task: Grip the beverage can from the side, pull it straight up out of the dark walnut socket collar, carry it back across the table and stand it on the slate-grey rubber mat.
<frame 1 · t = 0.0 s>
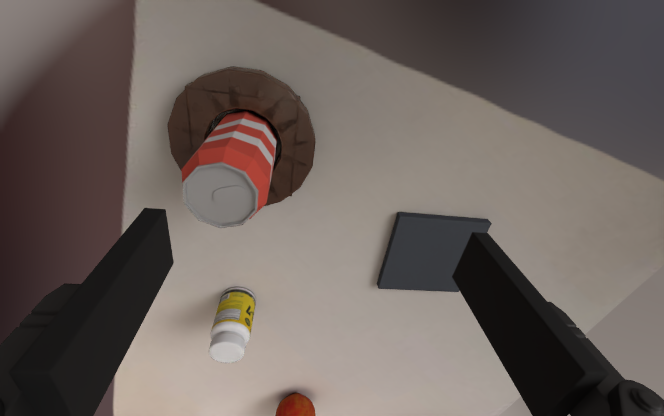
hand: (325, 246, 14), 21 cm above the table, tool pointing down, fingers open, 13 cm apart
mat: (429, 252, 42), on the table
beverage can: (247, 139, 32), resting in socket
socket: (246, 140, 32), on the table
supplement bottle: (239, 297, 44), on the table
fruit: (295, 395, 58), on the table
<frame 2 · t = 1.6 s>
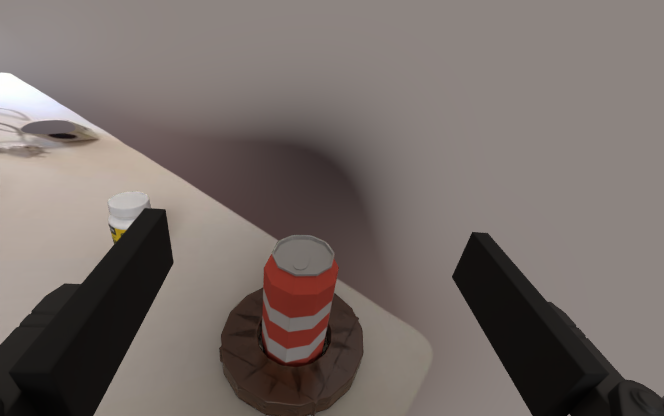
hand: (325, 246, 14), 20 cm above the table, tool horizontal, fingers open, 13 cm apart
beverage can: (293, 345, 32), resting in socket
socket: (293, 344, 32), on the table
supplement bottle: (141, 257, 40), on the table
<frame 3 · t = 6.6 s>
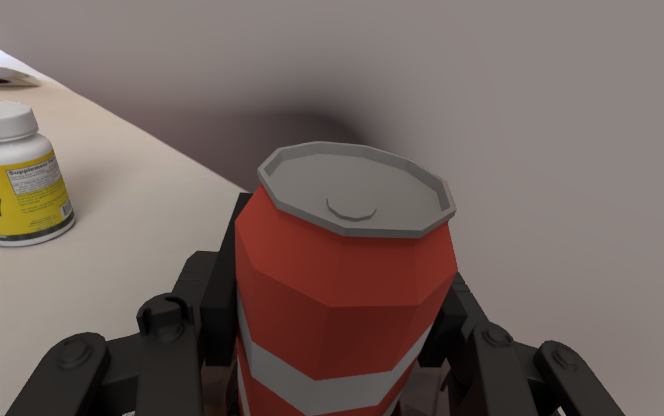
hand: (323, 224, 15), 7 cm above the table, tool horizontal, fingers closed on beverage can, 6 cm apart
beverage can: (309, 412, 14), resting in socket, touching gripper
socket: (310, 410, 14), on the table
supplement bottle: (35, 230, 22), on the table
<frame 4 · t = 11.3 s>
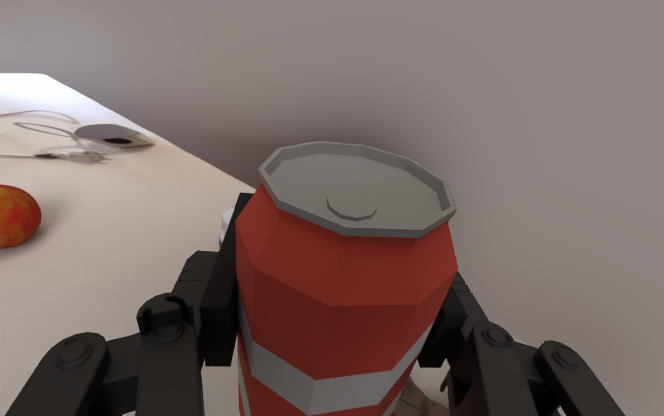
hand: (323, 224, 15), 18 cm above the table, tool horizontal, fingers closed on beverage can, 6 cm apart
beverage can: (310, 412, 15), point 11 cm above the table, touching gripper
socket: (437, 378, 29), on the table
fruit: (10, 243, 36), on the table
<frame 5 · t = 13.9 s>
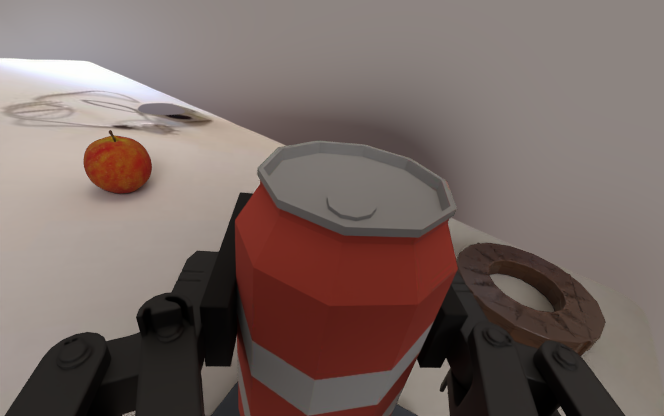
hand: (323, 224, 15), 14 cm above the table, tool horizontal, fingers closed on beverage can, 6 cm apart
beverage can: (310, 412, 14), point 7 cm above the table, touching gripper
socket: (517, 297, 33), on the table
fruit: (125, 191, 41), on the table
when the fingers open (8 cm above the table, at t = 15.9 s): beverage can stays where it is, resting on mat.
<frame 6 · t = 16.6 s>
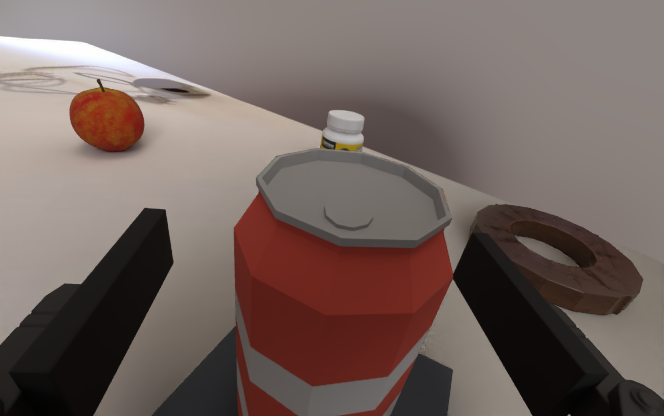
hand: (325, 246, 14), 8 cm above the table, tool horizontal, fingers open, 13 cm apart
beverage can: (308, 415, 15), point 1 cm above the table, touching mat
socket: (541, 257, 31), on the table
supplement bottle: (334, 184, 38), on the table
fruit: (115, 150, 38), on the table
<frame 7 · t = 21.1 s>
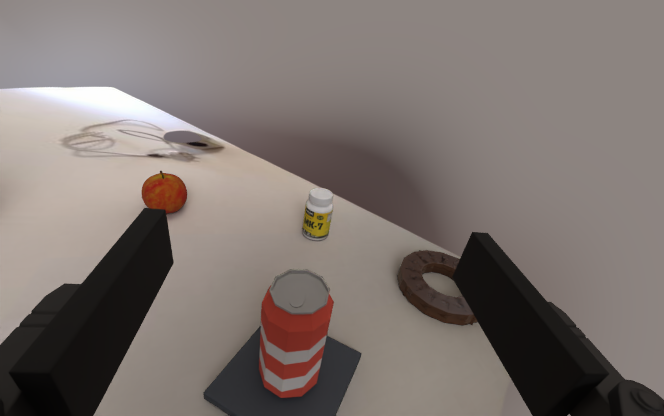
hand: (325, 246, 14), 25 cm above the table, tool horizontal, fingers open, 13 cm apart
mat: (289, 376, 33), on the table
beverage can: (289, 372, 33), point 1 cm above the table, touching mat
socket: (440, 288, 49), on the table
supplement bottle: (315, 234, 57), on the table
fruit: (167, 211, 56), on the table
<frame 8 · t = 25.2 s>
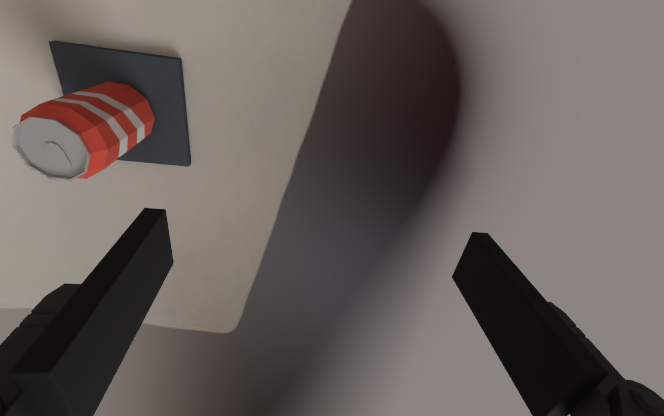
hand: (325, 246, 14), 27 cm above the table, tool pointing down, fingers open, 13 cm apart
mat: (130, 108, 35), on the table
beverage can: (127, 110, 34), point 1 cm above the table, touching mat
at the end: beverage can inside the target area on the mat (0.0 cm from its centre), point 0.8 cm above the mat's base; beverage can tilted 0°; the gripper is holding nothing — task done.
